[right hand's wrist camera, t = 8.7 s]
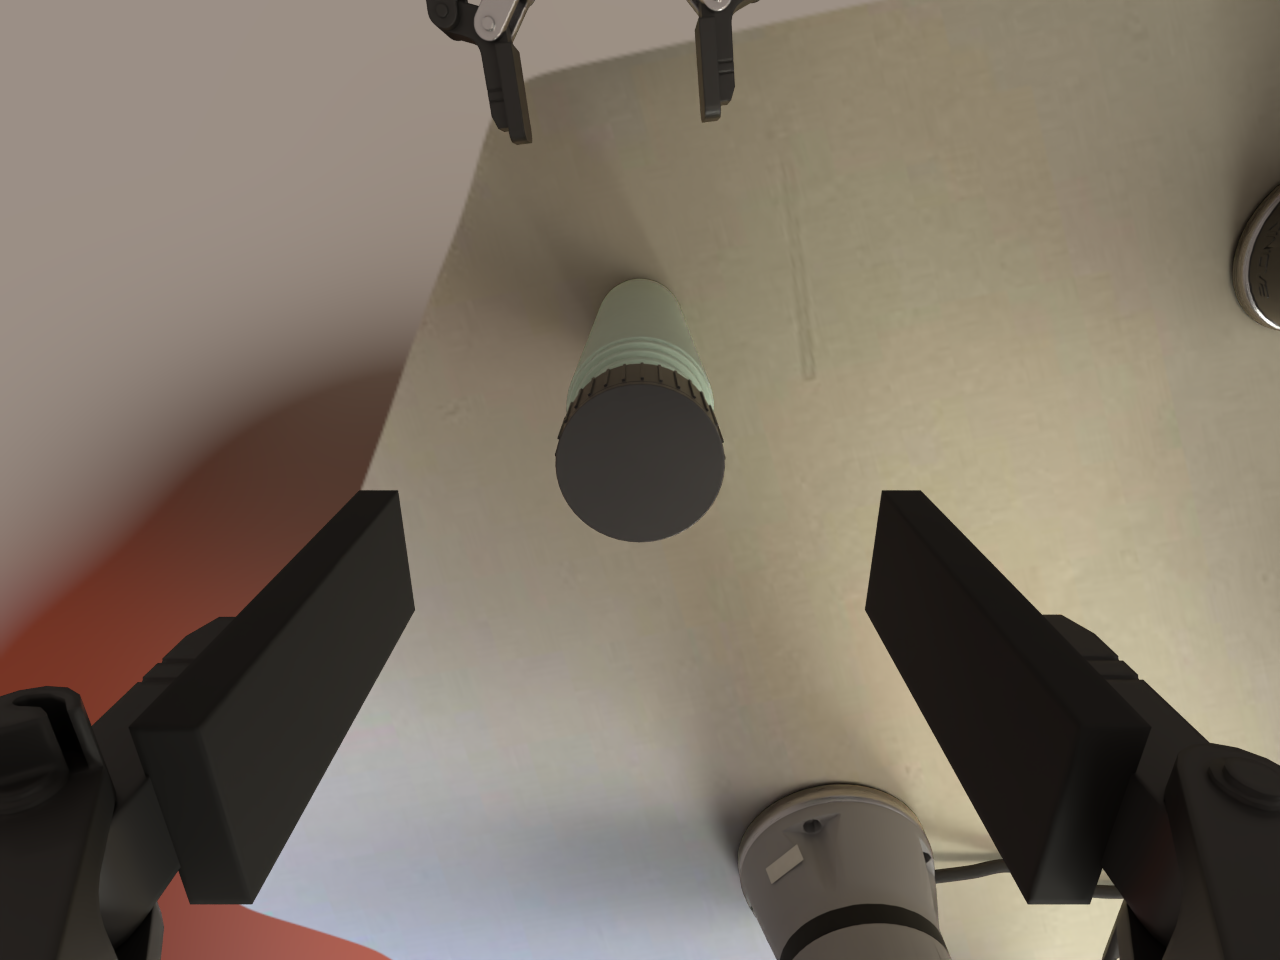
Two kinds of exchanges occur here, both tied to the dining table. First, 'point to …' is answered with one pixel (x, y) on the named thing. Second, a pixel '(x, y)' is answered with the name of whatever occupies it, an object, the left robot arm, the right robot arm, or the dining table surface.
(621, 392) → the cap
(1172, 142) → the dining table surface
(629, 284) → the bottle
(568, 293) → the dining table surface
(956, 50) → the dining table surface
